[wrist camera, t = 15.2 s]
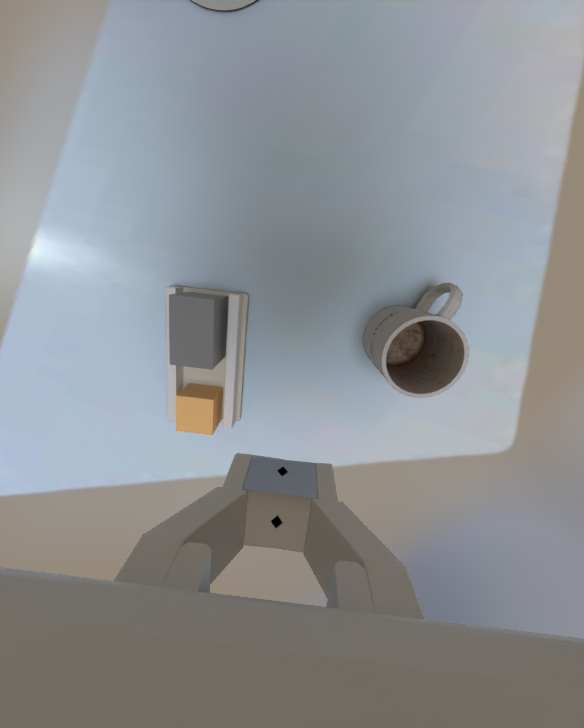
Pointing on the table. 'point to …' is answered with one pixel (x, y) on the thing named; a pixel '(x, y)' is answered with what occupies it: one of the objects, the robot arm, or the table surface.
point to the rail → (209, 375)
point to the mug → (419, 345)
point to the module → (197, 329)
